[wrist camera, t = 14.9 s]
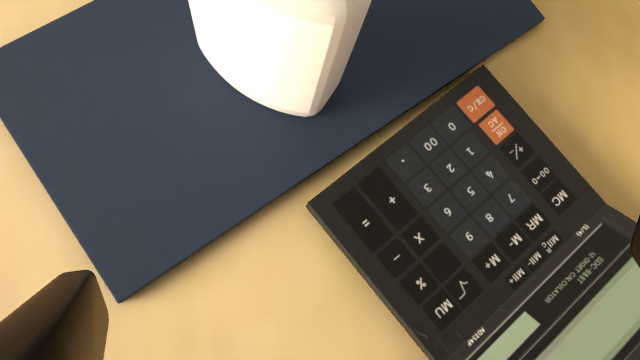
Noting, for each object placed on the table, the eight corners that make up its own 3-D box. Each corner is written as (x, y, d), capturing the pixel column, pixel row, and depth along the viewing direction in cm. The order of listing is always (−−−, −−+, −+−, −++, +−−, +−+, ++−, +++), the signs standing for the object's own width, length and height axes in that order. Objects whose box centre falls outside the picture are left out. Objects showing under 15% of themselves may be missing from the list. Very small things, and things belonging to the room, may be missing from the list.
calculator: (474, 73, 21) (509, 38, 18) (662, 287, 20) (732, 287, 17) (305, 206, 19) (315, 190, 16) (507, 456, 18) (557, 488, 15)
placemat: (120, 303, 17) (117, 303, 17) (-29, 69, 18) (-35, 64, 18) (540, 22, 22) (545, 17, 21) (401, -148, 23) (404, -156, 23)
